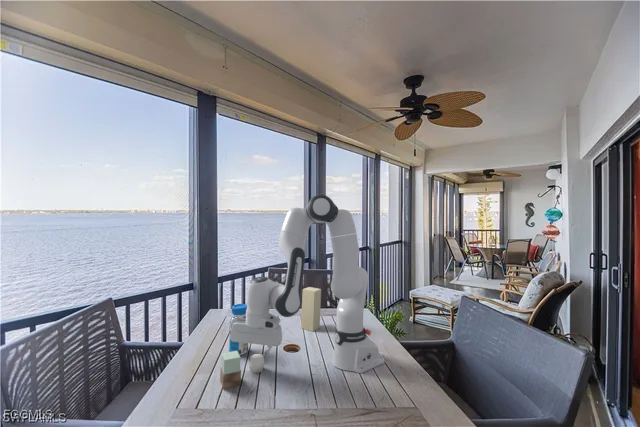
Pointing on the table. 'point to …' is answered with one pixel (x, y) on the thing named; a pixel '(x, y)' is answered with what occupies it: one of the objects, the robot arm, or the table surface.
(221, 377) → the tower base
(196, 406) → the table surface
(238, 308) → the beverage bottle
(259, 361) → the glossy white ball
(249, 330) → the robot arm
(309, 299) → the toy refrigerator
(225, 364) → the tower top
